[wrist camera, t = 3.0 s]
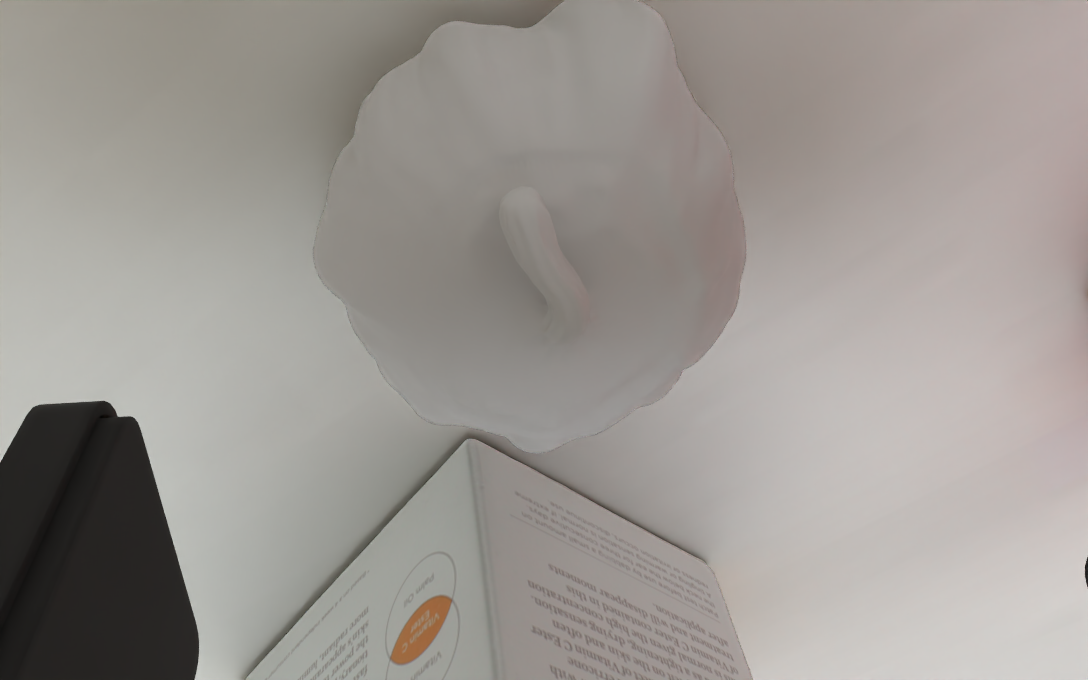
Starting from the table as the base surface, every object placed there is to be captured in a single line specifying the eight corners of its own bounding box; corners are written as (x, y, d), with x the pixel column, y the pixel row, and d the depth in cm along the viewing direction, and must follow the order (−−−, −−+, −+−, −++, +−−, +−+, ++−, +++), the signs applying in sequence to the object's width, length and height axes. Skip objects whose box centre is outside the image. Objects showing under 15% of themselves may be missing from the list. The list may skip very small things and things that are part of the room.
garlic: (341, -86, 13) (312, 42, 8) (746, -22, 14) (906, 122, 9) (316, 316, 16) (286, 560, 11) (645, 342, 17) (730, 575, 12)
